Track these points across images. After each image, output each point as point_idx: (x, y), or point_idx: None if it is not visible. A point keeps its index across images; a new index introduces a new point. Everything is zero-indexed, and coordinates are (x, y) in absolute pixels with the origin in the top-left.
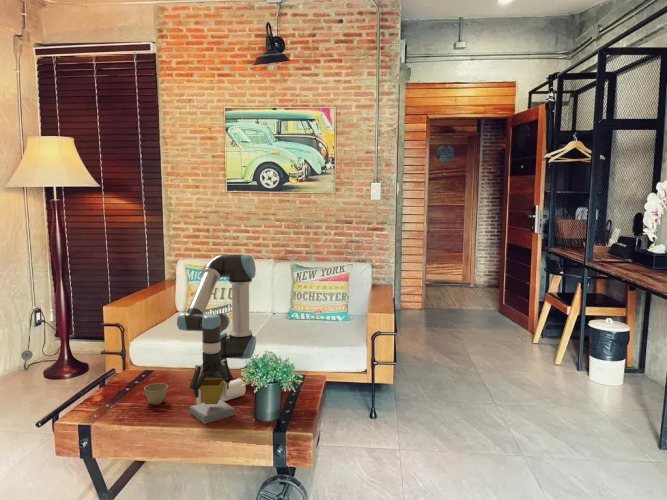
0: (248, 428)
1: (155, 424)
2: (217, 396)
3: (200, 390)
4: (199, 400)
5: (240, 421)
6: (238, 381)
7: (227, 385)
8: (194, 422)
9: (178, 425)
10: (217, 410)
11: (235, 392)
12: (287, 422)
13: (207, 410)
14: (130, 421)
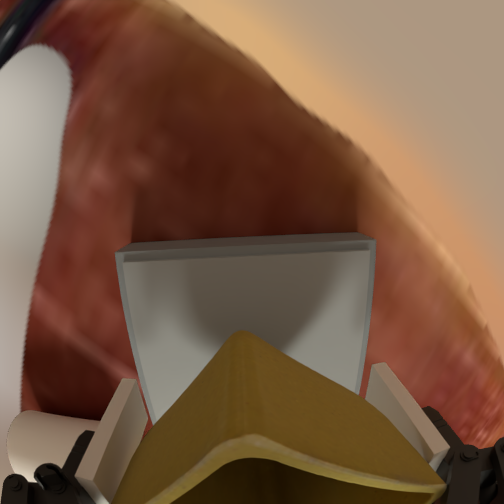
0: (159, 21)
1: (483, 355)
2: (259, 346)
3: (432, 450)
4: (399, 385)
5: (144, 125)
6: (28, 472)
7: (80, 459)
8: (386, 290)
9: (448, 300)
10: (245, 294)
11: (60, 429)
12: (4, 26)
13: (307, 334)
14: (494, 404)
